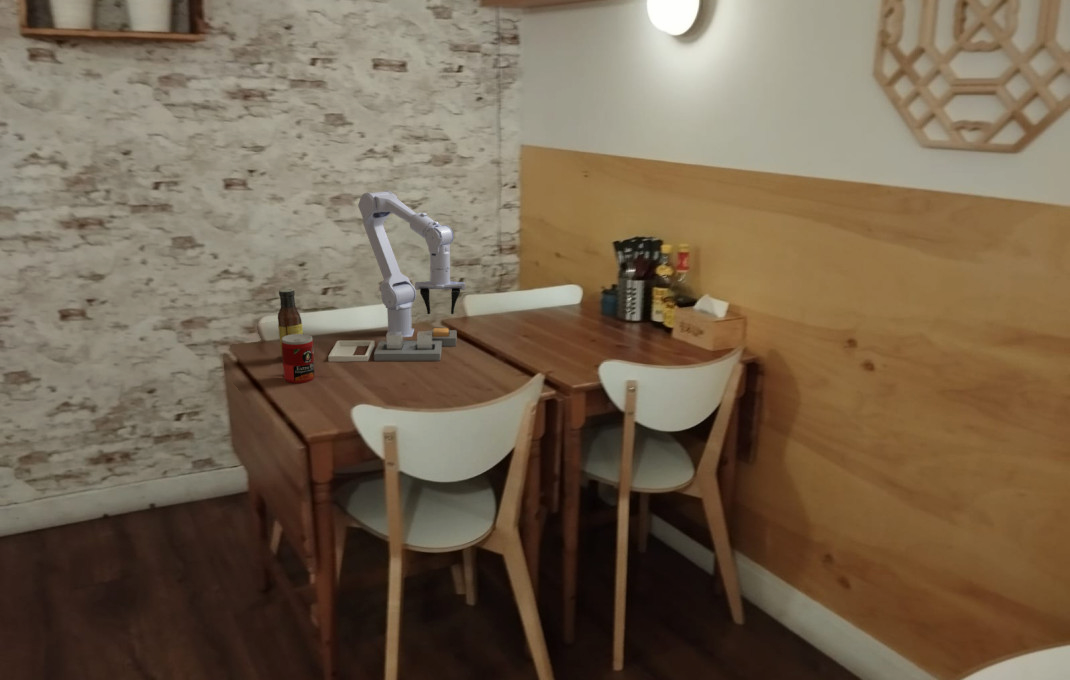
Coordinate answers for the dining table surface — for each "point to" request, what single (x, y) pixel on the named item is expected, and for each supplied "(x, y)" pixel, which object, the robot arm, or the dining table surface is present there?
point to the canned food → (298, 358)
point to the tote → (349, 351)
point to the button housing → (447, 338)
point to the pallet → (408, 352)
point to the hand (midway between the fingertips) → (440, 313)
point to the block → (424, 340)
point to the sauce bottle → (288, 315)
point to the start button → (441, 332)
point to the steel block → (394, 340)
